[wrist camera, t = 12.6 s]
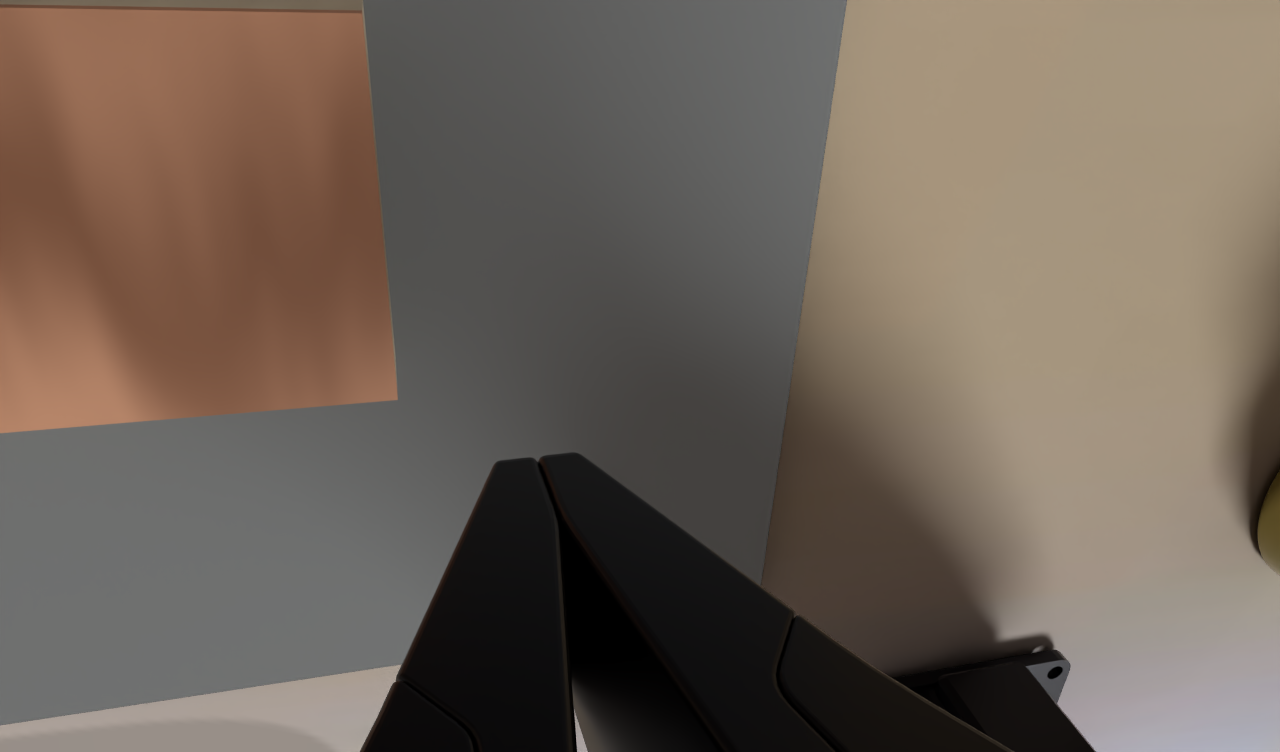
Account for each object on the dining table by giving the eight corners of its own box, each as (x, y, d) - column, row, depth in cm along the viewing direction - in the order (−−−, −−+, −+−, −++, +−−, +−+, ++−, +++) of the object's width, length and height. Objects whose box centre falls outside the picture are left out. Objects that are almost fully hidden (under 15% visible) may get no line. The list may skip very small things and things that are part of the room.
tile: (398, 400, 15) (-175, 448, 13) (395, 356, 16) (-124, 392, 14) (362, 13, 12) (-377, 1, 10) (363, -2, 14) (-291, -15, 12)
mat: (748, 593, 22) (757, 610, 22) (-100, 718, 18) (-113, 742, 18) (926, -683, 12) (951, -708, 11) (-1004, -1126, 8) (-1102, -1197, 7)
